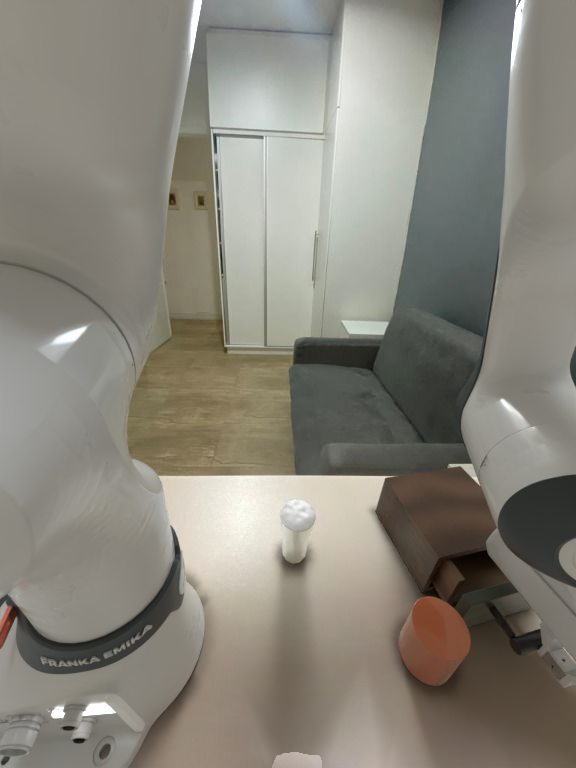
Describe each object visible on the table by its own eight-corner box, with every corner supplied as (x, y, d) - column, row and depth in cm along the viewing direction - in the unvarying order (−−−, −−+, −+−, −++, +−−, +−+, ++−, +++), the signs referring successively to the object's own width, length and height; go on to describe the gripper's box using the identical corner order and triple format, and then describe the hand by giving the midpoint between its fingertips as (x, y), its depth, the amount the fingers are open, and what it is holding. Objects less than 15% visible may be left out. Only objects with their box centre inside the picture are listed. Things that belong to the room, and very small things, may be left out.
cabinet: (506, 570, 43) (530, 536, 39) (421, 592, 40) (439, 557, 36) (446, 498, 53) (460, 465, 50) (375, 511, 50) (385, 477, 47)
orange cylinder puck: (463, 677, 33) (484, 651, 30) (417, 693, 31) (434, 669, 28) (430, 617, 37) (445, 590, 34) (388, 629, 36) (401, 603, 33)
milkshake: (266, 556, 43) (268, 507, 38) (292, 531, 46) (297, 484, 41) (290, 580, 40) (296, 531, 35) (316, 552, 44) (324, 504, 39)
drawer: (572, 647, 35) (600, 621, 32) (481, 679, 32) (503, 654, 29) (469, 525, 48) (483, 499, 45) (399, 540, 45) (409, 513, 42)
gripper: (499, 492, 32) (455, 569, 38) (849, 833, 14) (658, 864, 21) (546, 484, 33) (496, 559, 40) (917, 785, 16) (718, 828, 23)
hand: (554, 667), depth 30 cm, fingers closed
